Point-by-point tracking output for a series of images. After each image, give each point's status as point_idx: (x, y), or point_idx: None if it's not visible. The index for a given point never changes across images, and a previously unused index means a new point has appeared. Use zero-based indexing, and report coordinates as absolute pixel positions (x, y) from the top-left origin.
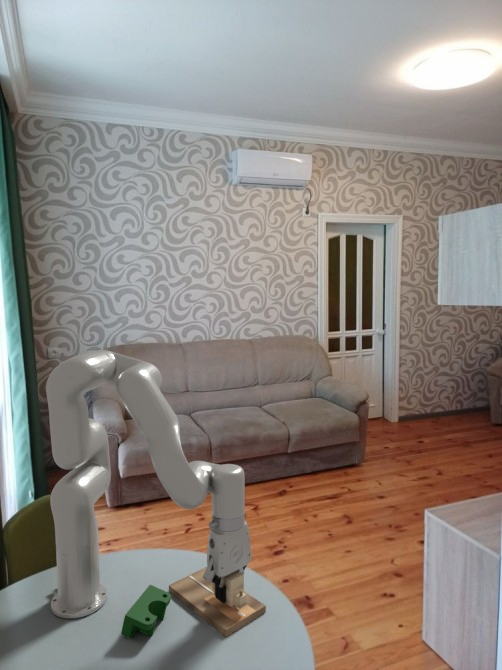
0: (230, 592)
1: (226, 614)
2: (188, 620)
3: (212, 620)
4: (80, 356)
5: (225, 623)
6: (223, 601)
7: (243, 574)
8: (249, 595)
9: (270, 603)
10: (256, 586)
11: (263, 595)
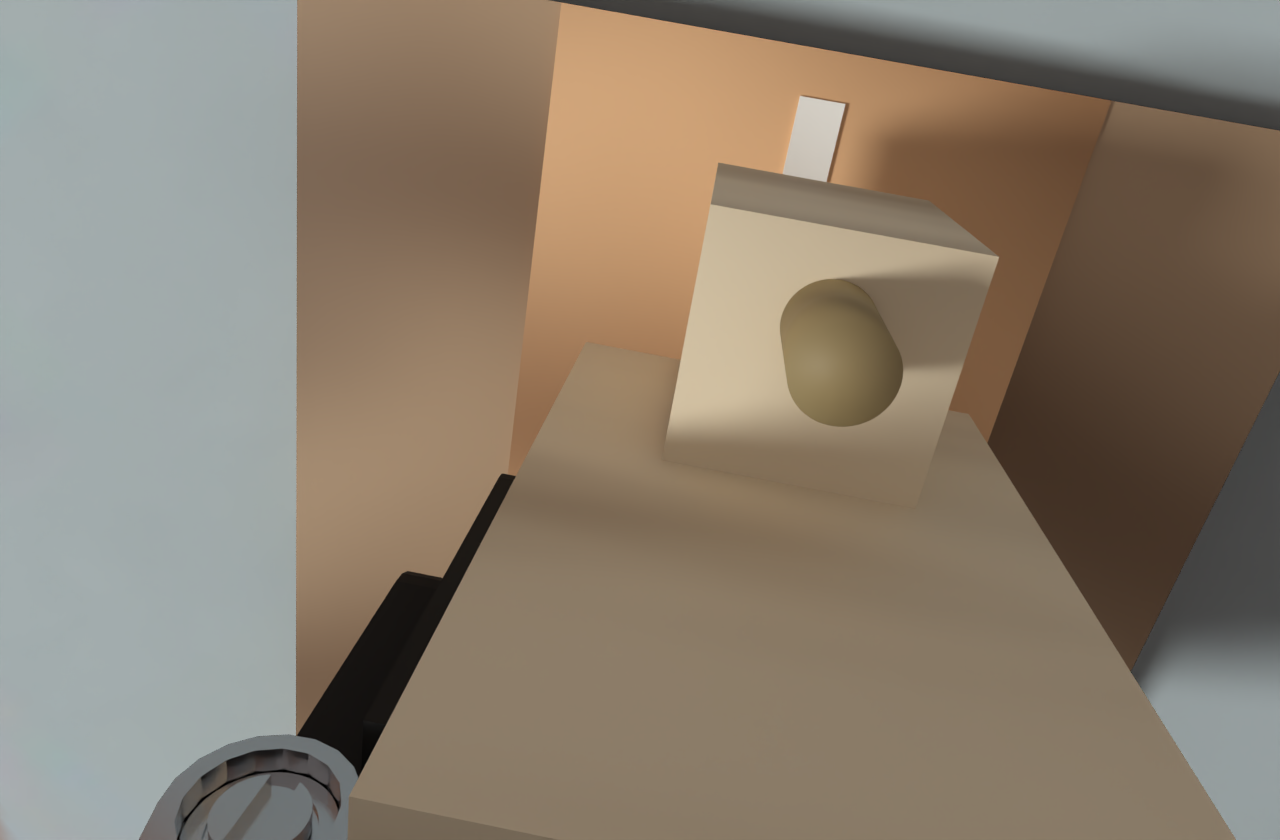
0: (1086, 607)
1: (972, 413)
2: (1195, 772)
3: (1199, 514)
4: None
5: (1205, 281)
6: None
7: (377, 790)
8: (311, 396)
9: (134, 44)
10: (40, 476)
11: (91, 270)
